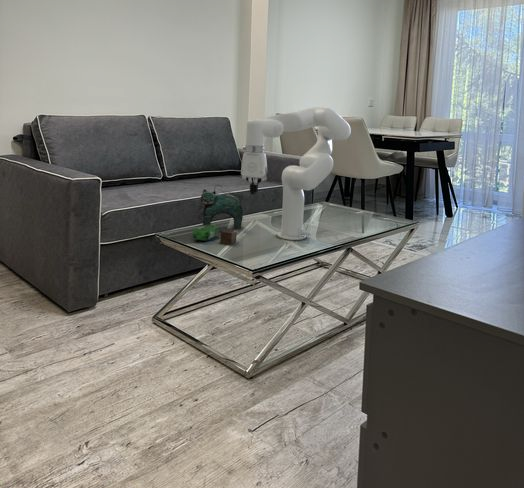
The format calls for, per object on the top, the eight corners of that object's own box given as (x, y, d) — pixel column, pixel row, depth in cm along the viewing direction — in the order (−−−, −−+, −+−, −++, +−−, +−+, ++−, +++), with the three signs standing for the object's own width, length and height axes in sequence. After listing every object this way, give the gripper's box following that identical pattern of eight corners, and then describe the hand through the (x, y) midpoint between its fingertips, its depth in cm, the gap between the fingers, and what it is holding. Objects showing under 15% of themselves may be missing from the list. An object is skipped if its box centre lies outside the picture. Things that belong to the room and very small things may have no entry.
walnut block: (236, 242, 207) (236, 230, 206) (231, 245, 202) (231, 232, 202) (225, 240, 208) (226, 228, 208) (220, 243, 204) (220, 231, 204)
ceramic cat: (199, 228, 226) (201, 185, 225) (199, 225, 233) (200, 183, 232) (242, 229, 230) (244, 186, 228) (241, 226, 236) (243, 184, 235)
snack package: (189, 242, 203) (189, 229, 203) (206, 233, 218) (206, 222, 218) (204, 244, 201) (205, 231, 201) (220, 236, 216) (221, 224, 215)
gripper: (234, 149, 203) (233, 193, 205) (269, 151, 198) (267, 196, 200) (241, 147, 211) (240, 190, 212) (275, 150, 205) (273, 194, 207)
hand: (253, 193), depth 206 cm, fingers closed
